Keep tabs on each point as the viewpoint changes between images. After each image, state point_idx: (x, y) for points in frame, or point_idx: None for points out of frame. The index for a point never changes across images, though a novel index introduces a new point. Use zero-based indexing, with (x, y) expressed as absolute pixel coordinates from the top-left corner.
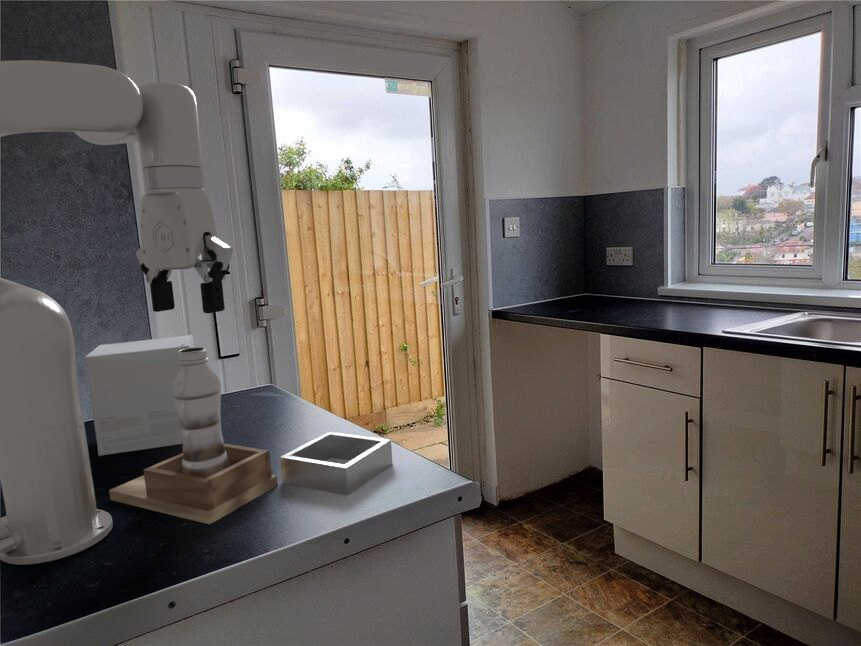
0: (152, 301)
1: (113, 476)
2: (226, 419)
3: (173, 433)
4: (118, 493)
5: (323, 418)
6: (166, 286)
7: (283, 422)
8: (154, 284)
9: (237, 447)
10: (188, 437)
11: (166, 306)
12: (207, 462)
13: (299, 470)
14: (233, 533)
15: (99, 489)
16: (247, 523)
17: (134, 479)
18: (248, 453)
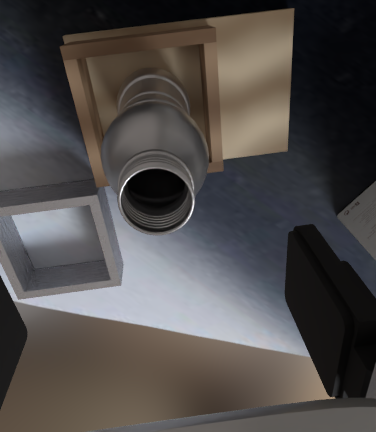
0: (328, 249)
1: (364, 69)
2: (365, 281)
3: (374, 198)
4: (270, 11)
5: (234, 333)
6: (326, 359)
7: (275, 305)
8: (349, 324)
9: None
10: (143, 91)
11: (290, 276)
12: (120, 96)
13: (64, 192)
14: (10, 34)
15: (343, 25)
16: (24, 67)
17: (290, 59)
18: None
